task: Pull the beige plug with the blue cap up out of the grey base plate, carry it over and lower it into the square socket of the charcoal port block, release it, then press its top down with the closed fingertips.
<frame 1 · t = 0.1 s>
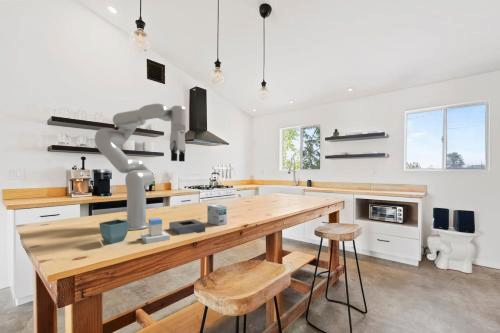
hand: (178, 161, 131), 37 cm above the table, tool pointing down, fingers open, 9 cm apart
plug: (155, 238, 112), resting on grey base plate
grey base plate: (155, 240, 112), on the table
flower pot: (114, 242, 108), on the table
light bulb box: (217, 223, 146), on the table
port block: (187, 230, 129), on the table
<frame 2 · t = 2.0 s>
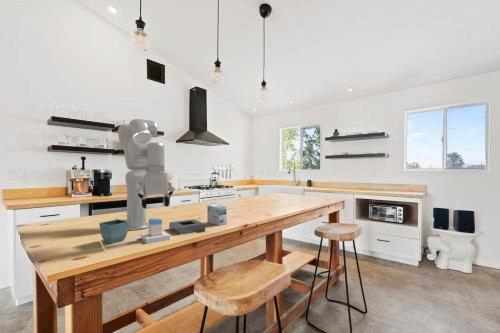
hand: (155, 207, 111), 15 cm above the table, tool pointing down, fingers open, 9 cm apart
nothing on the table moved.
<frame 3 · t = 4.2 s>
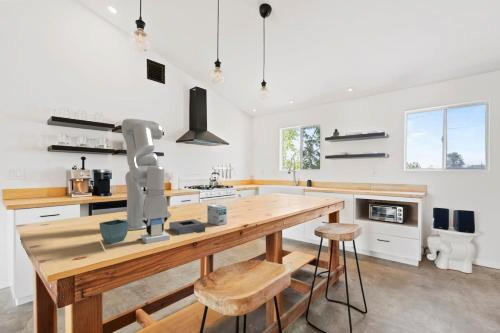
hand: (155, 232, 112), 3 cm above the table, tool pointing down, fingers closed on plug, 4 cm apart
plug: (155, 238, 112), point 1 cm above the table, touching gripper, grey base plate
everything else where it was.
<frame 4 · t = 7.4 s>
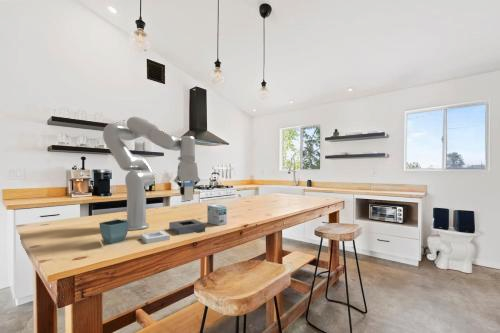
hand: (187, 194, 129), 19 cm above the table, tool pointing down, fingers closed on plug, 4 cm apart
plug: (187, 199, 129), point 16 cm above the table, touching gripper
everything else where it was.
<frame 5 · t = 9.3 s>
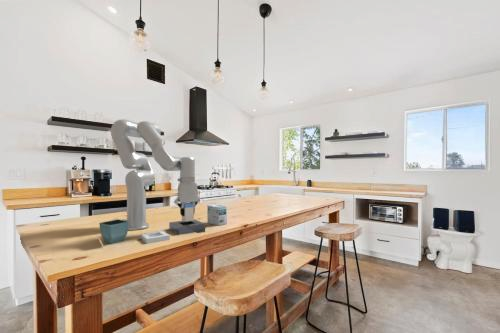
hand: (187, 214, 129), 8 cm above the table, tool pointing down, fingers closed on plug, 4 cm apart
plug: (187, 220, 128), point 5 cm above the table, touching gripper
everything else where it was.
when the fingers open (4 cm above the table, at t = 11.1 s): plug stays where it is, resting on port block.
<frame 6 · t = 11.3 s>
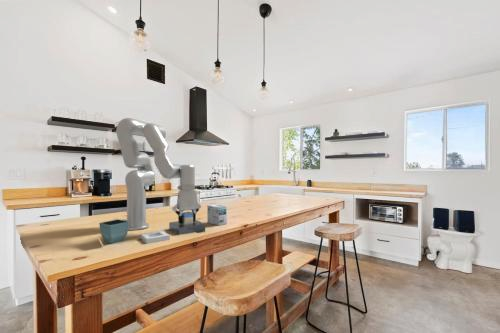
hand: (187, 221, 129), 5 cm above the table, tool pointing down, fingers open, 6 cm apart
plug: (187, 229, 128), point 1 cm above the table, touching port block
everything else where it was.
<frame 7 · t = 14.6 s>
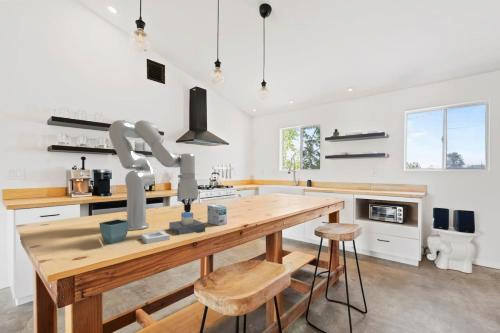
hand: (187, 211, 129), 10 cm above the table, tool pointing down, fingers closed
nothing on the table moved.
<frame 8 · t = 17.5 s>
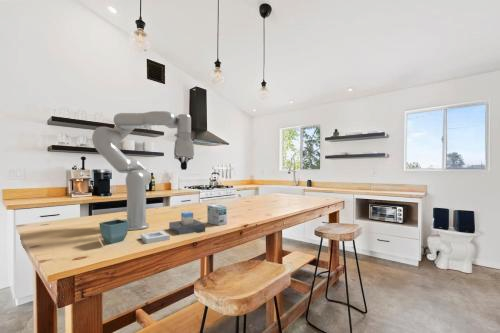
hand: (183, 169, 136), 32 cm above the table, tool pointing down, fingers closed
nothing on the table moved.
at the end: plug 0.2 cm off-centre on the port block, point 0.5 cm above the port block's base; plug tilted 0°; the gripper is holding nothing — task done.
